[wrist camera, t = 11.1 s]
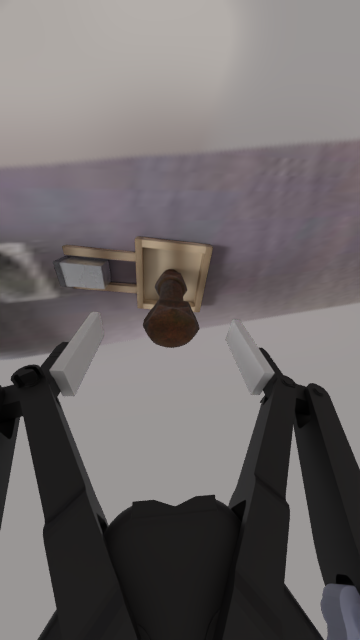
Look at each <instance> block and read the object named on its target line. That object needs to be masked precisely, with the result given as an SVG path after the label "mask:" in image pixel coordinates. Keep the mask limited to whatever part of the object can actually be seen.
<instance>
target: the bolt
mask: <svg viewBox="0 0 360 640" xmlns="http://www.w3.org/2000/svg"><path fill="white" fill-rule="evenodd" d="M155 289H156V292H157V294H158V295H159V300H158V301H157V302H156V304H155V305H154V307H153V308H152V309H151V311H150V312H149V313H148V315H147V316H146V318H145V319H144V323H143V327H144V329H145V331H146V333H147V335H148V336H149V337H150V339H151V340H152V341H153V342H154V343H155V344H157V345H160V346H164V347H171V348H172V347H173V348H174V347H179V346H182V345H185V344H187V343H188V342H189V341H190V340H191V339H192V338H193V337H194V336H195V335H196V333H197V332H198V330H199V325H198V322H197V319H196V317H195V315H194V313H193V311H192V309H191V306H190V304H189V302H188V301H184V300H183V296H184V295H185V293H186V292H187V286H186V284H185V281H184V279H183V277H182V275H181V273H178V272H177V271H176V270H174V269H167V270H165V271H164V272H163V273H162V275H161V276H160V277H159V279H158V280H157V282H156V284H155Z"/></svg>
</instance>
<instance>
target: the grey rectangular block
mask: <svg viewBox="0 0 360 640" xmlns="http://www.w3.org/2000/svg"><path fill="white" fill-rule="evenodd" d="M53 264H54V267H55V271H56V274H57V277H58V280H59V283H60V286H63V287H66V286H71V287H84V288H97V289H105V288H106V287H107V286H108V284H109V283H110V282H111V275H110V267H109V260H105V259H94V258H84V257H73V256H64V257H62V258H60V259H58V260H55V261H53Z"/></svg>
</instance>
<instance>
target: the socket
mask: <svg viewBox="0 0 360 640" xmlns="http://www.w3.org/2000/svg"><path fill="white" fill-rule="evenodd" d="M62 248H63V251H64V255H73V256H83V257H93V258H104V259H114V260H124V261H135V262H136V279H137V284H127V283H115V282H110V283H109V284H108V286H107V287H106V288H105V289H97V288H84V287H74V288H76V289H89V290H102V291H115V292H128V293H137V303H138V308H143V309H152V308H153V307H154V305H155V304H156V302H157V301H158V300H159V295H158V294H157V292H156V289H155V284H156V282H157V280H158V279H159V277H160V276H161V275H162V273H163V272H164V271H165V270H167V269H174V270H176V271H177V272H178V273H181V275H182V277H183V279H184V281H185V284H186V286H187V292H186V293H185V295H184V296H183V300H184V301H188V302H189V304H190V306H191V309H192V311H193V312H200V307H201V302H202V297H203V292H204V288H205V283H206V278H207V273H208V268H209V264H210V259H211V254H212V249H213V247H212V246H211V245H210V244H201V243H192V242H183V241H174V240H166V239H157V238H148V237H139V236H137V237H136V238H135V252H131V251H121V250H111V249H101V248H92V247H82V246H72V245H65V246H62Z"/></svg>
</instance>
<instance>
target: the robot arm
mask: <svg viewBox="0 0 360 640" xmlns="http://www.w3.org/2000/svg"><path fill="white" fill-rule="evenodd" d="M103 337H104V331H103V326H102V321H101V316H100V312H91V313H90V314H89V316H88V317H87V318H86V320H85V321H84V323H83V324H82V325H81V327H80V328H79V330H78V331H77V332H76V334H75V335H74V337H73V338H72V339H71V341H70V342H62V343H61V344H59V345H58V346H57V347H56V348H55V349H54V350H53V352H52V353H51V354H50V355H49V357H48V358H47V359H46V361H45V362H44V363H43V364H42V365H41V367H39V366H38V365H28V366H24V367H22V368H20V369H18V370H17V371H16V372H15V373H14V374H13V375H12V376H11V381H12V382H13V383H14V385H10V386H7V387H1V385H0V528H1V522H2V517H3V511H4V505H5V500H6V494H7V488H8V483H9V477H10V472H11V466H12V460H13V455H14V449H15V443H16V437H17V431H18V426H19V420H20V417H21V416H23V417H24V422H25V427H26V431H27V436H28V441H29V446H30V451H31V455H32V460H33V465H34V470H35V475H36V479H37V484H38V488H39V493H40V498H41V503H42V507H43V513H44V518H45V525H44V528H43V538H44V546H45V550H46V556H47V561H48V566H49V571H50V576H51V582H52V587H53V592H54V597H55V603H56V607H57V610H56V611H55V612H54V614H53V616H52V618H51V619H50V620H49V622H48V624H47V625H46V627H45V629H44V630H43V632H42V633H41V635H40V637H39V638H38V640H324V639H323V638H322V637H321V635H320V633H319V632H318V630H317V629H316V628H315V626H314V625H313V623H312V622H311V620H310V619H309V618H308V616H307V615H306V613H305V612H304V611H303V609H302V608H301V606H300V605H299V603H298V602H297V601H296V599H295V598H294V596H293V595H292V594H291V592H290V591H289V589H288V588H287V586H286V585H285V584H284V578H285V566H286V555H287V543H288V532H289V520H290V509H289V505H288V503H287V502H286V486H287V477H288V467H289V458H290V448H291V440H292V431H293V426H294V431H295V437H296V443H297V448H298V454H299V460H300V465H301V471H302V477H303V483H304V488H305V494H306V500H307V505H308V510H309V517H310V523H311V528H312V534H313V540H314V545H315V549H316V554H317V559H318V563H319V566H320V570H321V573H322V577H323V580H324V583H325V587H324V590H323V599H322V600H321V611H322V614H323V617H324V619H325V621H326V623H327V628H328V636H327V640H360V469H359V467H358V464H357V462H356V460H355V457H354V455H353V452H352V450H351V447H350V445H349V443H348V440H347V438H346V435H345V433H344V430H343V428H342V425H341V423H340V421H339V418H338V416H337V413H336V411H335V408H334V406H333V403H332V401H331V398H330V396H329V394H328V393H327V392H326V391H325V389H324V388H322V387H321V386H318V385H317V384H313V383H311V384H309V385H308V386H307V387H305V386H302V385H298V384H296V383H295V382H294V381H293V380H292V379H290V378H289V377H287V376H284V375H283V374H282V373H281V371H280V370H279V368H278V367H277V366H276V364H275V363H274V362H273V360H272V358H270V355H269V354H268V353H267V352H266V351H265V350H264V349H263V348H258V347H257V345H256V344H255V342H254V341H253V339H252V338H251V336H250V335H249V333H248V332H247V330H246V329H245V327H244V326H243V324H242V322H241V321H240V320H236V319H233V320H232V323H231V325H230V328H229V331H228V334H227V337H226V341H227V344H228V346H229V348H230V350H231V352H232V354H233V357H234V359H235V361H236V363H237V365H238V368H239V370H240V372H241V374H242V376H243V379H244V381H245V383H246V385H247V387H248V390H249V392H250V394H251V395H260V394H261V392H262V391H264V393H265V396H264V397H263V398H262V400H261V401H260V403H262V404H261V407H260V410H259V414H258V417H257V420H256V424H255V427H254V430H253V434H252V437H251V440H250V444H249V447H248V450H247V454H246V457H245V460H244V464H243V467H242V470H241V474H240V477H239V480H238V484H237V487H236V489H235V491H234V493H233V495H232V498H231V500H230V503H229V506H226V505H225V504H224V503H222V502H220V501H218V500H216V499H215V495H207V496H196V497H193V498H191V499H189V500H188V501H185V502H184V503H182V504H180V505H178V506H172V505H168V504H165V503H162V502H158V501H156V500H148V501H136V502H133V505H132V506H131V507H129V508H127V509H126V510H124V511H123V512H122V513H120V514H119V515H118V516H117V517H116V518H115V519H114V521H112V522H111V524H110V525H108V523H107V520H106V518H105V515H104V513H103V511H102V508H101V506H100V504H99V502H98V500H97V497H96V495H95V492H94V490H93V487H92V485H91V482H90V479H89V477H88V474H87V472H86V469H85V467H84V464H83V461H82V459H81V456H80V454H79V451H78V449H77V446H76V443H75V441H74V438H73V436H72V433H71V431H70V428H69V425H68V423H67V420H66V418H65V415H64V412H63V410H62V407H61V405H60V402H59V400H58V398H57V396H58V395H59V393H60V392H61V393H62V395H63V396H75V394H76V392H77V390H78V388H79V386H80V384H81V382H82V380H83V378H84V376H85V374H86V372H87V370H88V368H89V366H90V363H91V361H92V359H93V357H94V355H95V353H96V351H97V349H98V347H99V345H100V343H101V341H102V339H103Z"/></svg>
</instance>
